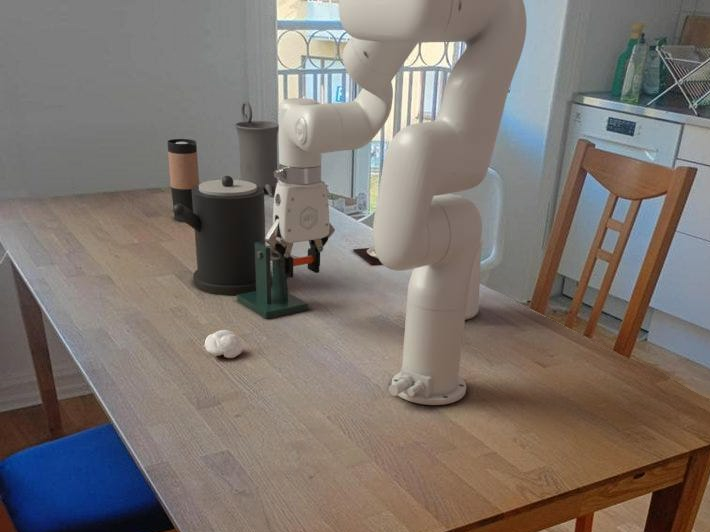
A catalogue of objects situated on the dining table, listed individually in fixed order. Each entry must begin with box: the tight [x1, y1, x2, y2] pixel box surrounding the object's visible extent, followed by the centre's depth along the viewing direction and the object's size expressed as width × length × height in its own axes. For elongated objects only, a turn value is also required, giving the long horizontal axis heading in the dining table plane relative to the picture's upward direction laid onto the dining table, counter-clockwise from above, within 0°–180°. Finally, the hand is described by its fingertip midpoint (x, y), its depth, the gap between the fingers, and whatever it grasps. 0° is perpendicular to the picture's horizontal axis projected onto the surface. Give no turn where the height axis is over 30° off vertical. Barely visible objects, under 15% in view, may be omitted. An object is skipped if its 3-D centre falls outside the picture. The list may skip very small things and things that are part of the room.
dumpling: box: [202, 329, 243, 359], centre depth 141 cm, size 7×5×4 cm
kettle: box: [172, 175, 267, 296], centre depth 169 cm, size 20×21×23 cm
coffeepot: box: [465, 238, 484, 321], centre depth 159 cm, size 11×25×19 cm, turn 168°
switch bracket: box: [236, 239, 309, 320], centre depth 160 cm, size 12×10×13 cm
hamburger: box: [352, 246, 383, 266], centre depth 194 cm, size 12×12×6 cm
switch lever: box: [266, 244, 314, 267], centre depth 154 cm, size 13×5×2 cm, turn 37°
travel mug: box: [167, 138, 200, 223], centre depth 213 cm, size 8×8×20 cm
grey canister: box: [234, 100, 279, 197], centre depth 243 cm, size 19×15×25 cm
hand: (300, 272), depth 151 cm, fingers closed on switch lever, 5 cm apart
